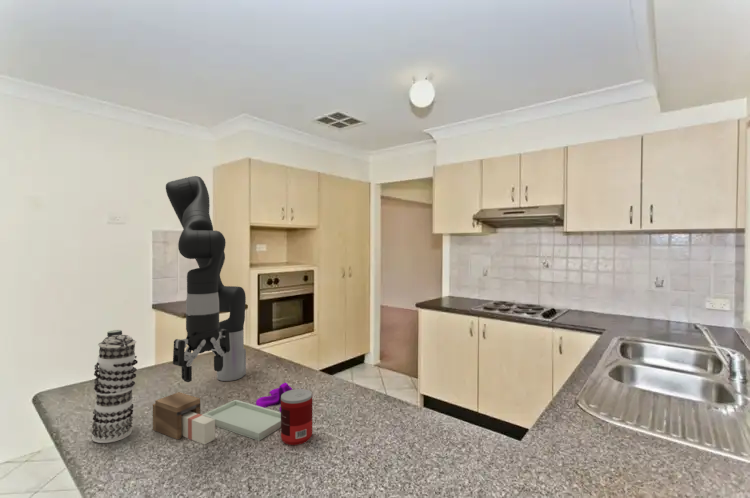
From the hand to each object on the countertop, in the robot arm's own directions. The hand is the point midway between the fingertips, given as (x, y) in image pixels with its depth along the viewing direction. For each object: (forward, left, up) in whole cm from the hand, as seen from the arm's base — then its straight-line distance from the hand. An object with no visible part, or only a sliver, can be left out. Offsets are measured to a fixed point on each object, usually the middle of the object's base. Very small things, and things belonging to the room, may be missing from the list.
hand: (203, 375), depth 95 cm
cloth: (-29, +1, -17) cm, 34 cm away
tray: (-12, +1, -16) cm, 20 cm away
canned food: (-12, +19, -16) cm, 28 cm away
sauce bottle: (-7, -54, -16) cm, 57 cm away
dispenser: (0, -11, -16) cm, 19 cm away
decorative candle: (+10, -23, -16) cm, 29 cm away
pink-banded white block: (0, -5, -16) cm, 17 cm away
